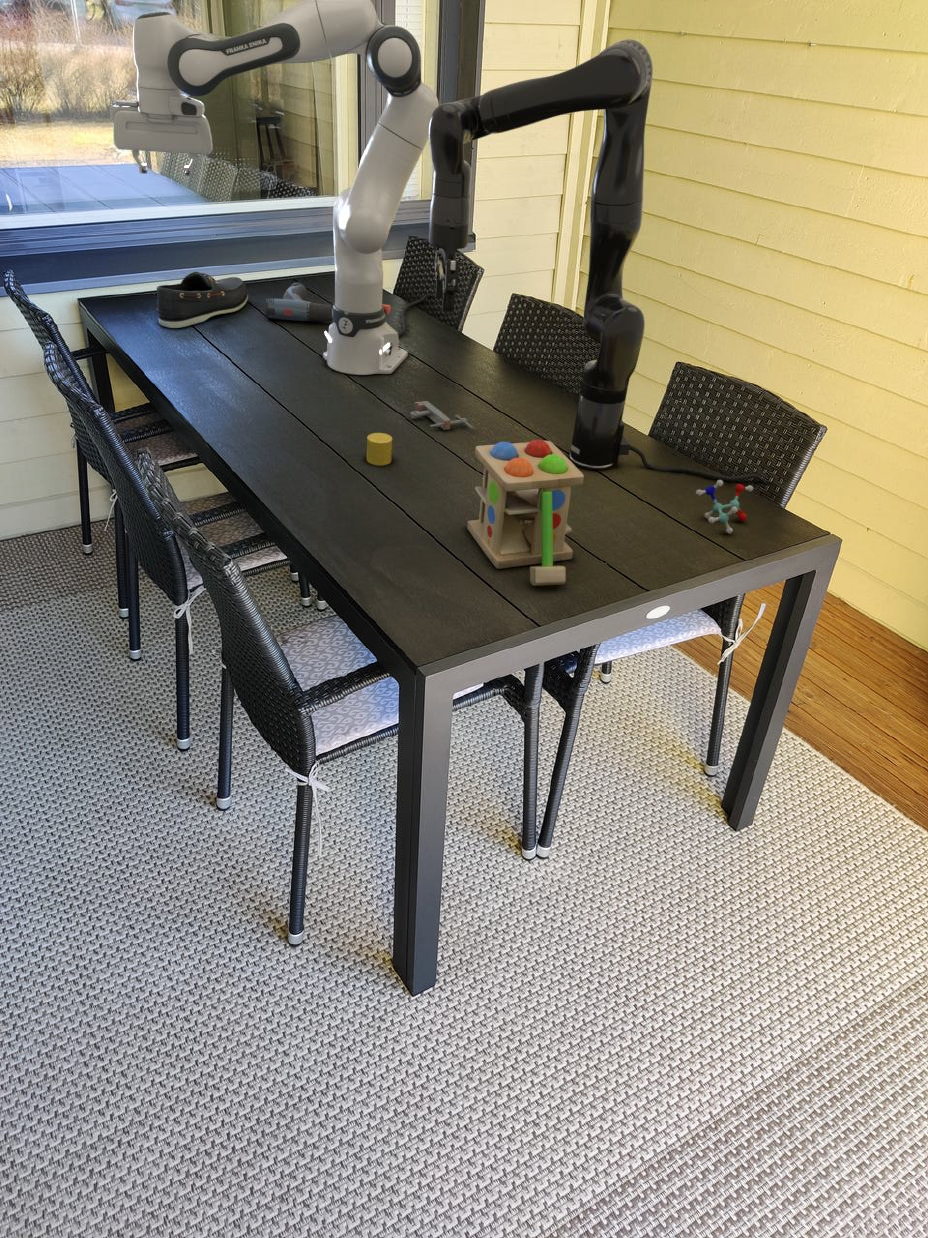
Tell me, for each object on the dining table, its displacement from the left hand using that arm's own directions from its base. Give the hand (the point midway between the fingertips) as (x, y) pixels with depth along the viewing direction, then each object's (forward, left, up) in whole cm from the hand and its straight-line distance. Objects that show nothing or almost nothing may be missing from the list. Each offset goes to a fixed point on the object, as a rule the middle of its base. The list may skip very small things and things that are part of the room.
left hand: (166, 174), depth 212 cm
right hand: (+3, +70, -13) cm, 71 cm away
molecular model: (+10, +133, -40) cm, 139 cm away
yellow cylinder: (+24, +67, -40) cm, 82 cm away
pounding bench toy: (+42, +107, -40) cm, 122 cm away
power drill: (-45, +6, -40) cm, 61 cm away
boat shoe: (-29, -15, -40) cm, 51 cm away
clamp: (0, +69, -40) cm, 80 cm away
